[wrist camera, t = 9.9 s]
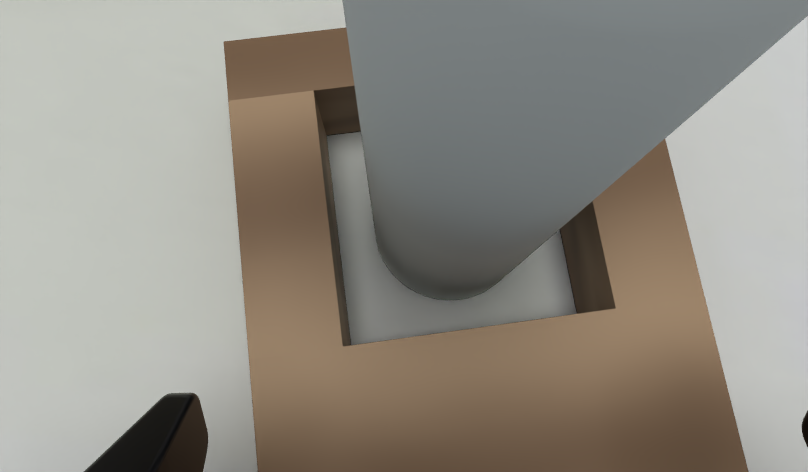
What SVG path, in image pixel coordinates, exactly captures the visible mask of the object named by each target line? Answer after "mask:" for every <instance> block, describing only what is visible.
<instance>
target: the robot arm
mask: <svg viewBox="0 0 808 472" xmlns="http://www.w3.org/2000/svg"><path fill="white" fill-rule="evenodd" d="M802 433H803V437H804V440H805V442H806V444H807V447H808V411H807V413H806V415H805V417H804V419H803V422H802ZM207 447H208V432H207V428H206V424H205V420H204V416H203V412H202V408H201V404H200V400H199V398H198V396H197V395H196V394H194V393H170V394H167V395H165V396H164V397H162V398H161V399H160V400H159V401H158V402H157V403H156V404H155V405H154V406H153V407H152V408H151V409H150V410H149V411H148V412H146V413H145V414H144V415H143V416H142V417H141V418H140V419H139V420H138V421H137V422H136V423H135V424H134V425H133V426H132V427H131V428H130V429H129V430H127V431H126V432H125V433H124V434H123V435H122V436H121V437H120V438H119V439H118V440H117V441H116V442H115V443H114V444H113V445H112V446H111V447H110V448H108V449H107V450H106V451H105V452H104V453H103V454H102V455H101V456H100V457H99V458H98V459H97V460H96V461H95V462H94V463H93V464H92V465H91V466H89V467H88V468H87V469H86V470H85V471H84V472H203V469H204V464H205V458H206V453H207Z"/></svg>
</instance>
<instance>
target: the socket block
mask: <svg viewBox="0 0 808 472" xmlns="http://www.w3.org/2000/svg"><path fill="white" fill-rule="evenodd" d="M224 52H225V64H226V77H227V89H228V102H229V114H230V127H231V140H232V152H233V165H234V177H235V190H236V202H237V215H238V227H239V240H240V252H241V265H242V278H243V290H244V303H245V315H246V328H247V340H248V353H249V365H250V378H251V391H252V403H253V416H254V428H255V441H256V453H257V466H258V472H748V468H747V464H746V460H745V456H744V452H743V449H742V445H741V441H740V437H739V433H738V429H737V425H736V421H735V417H734V413H733V409H732V405H731V401H730V397H729V393H728V389H727V385H726V381H725V377H724V373H723V369H722V365H721V361H720V357H719V353H718V349H717V345H716V341H715V337H714V333H713V329H712V325H711V321H710V317H709V313H708V309H707V305H706V301H705V297H704V293H703V289H702V285H701V281H700V277H699V273H698V269H697V265H696V261H695V257H694V253H693V249H692V245H691V241H690V237H689V233H688V229H687V225H686V221H685V217H684V213H683V209H682V205H681V201H680V197H679V193H678V189H677V185H676V181H675V177H674V173H673V169H672V165H671V161H670V157H669V153H668V149H667V145H666V141H665V139H664V140H663V141H661V142H660V143H659V144H658V145H657V146H656V147H654V148H653V149H652V150H651V151H650V152H649V153H647V154H646V155H645V156H644V157H643V158H642V159H641V160H639V161H638V162H637V163H636V164H635V165H634V166H632V167H631V168H630V169H629V170H628V171H627V172H625V173H624V174H623V175H622V176H621V177H620V178H618V179H617V180H616V181H615V182H614V183H613V184H612V185H610V186H609V187H608V188H607V189H606V190H605V191H603V192H602V193H601V194H600V195H599V196H598V197H596V198H595V199H594V200H593V201H592V202H591V203H589V204H588V205H587V206H586V207H585V208H584V209H582V210H581V211H580V212H579V213H578V214H577V215H576V216H574V217H573V218H572V219H571V220H570V221H569V222H567V223H566V224H565V225H564V226H563V227H562V228H560V231H561V236H562V241H563V246H564V251H565V256H566V261H567V266H568V271H569V276H570V281H571V286H572V291H573V296H574V301H575V306H576V311H577V314H572V315H565V316H558V317H551V318H544V319H537V320H530V321H522V322H515V323H508V324H501V325H494V326H487V327H479V328H472V329H465V330H458V331H451V332H444V333H436V334H429V335H422V336H415V337H408V338H401V339H393V340H386V341H379V342H372V343H365V344H358V345H351V341H350V333H349V324H348V315H347V307H346V298H345V290H344V281H343V273H342V264H341V256H340V247H339V239H338V230H337V222H336V213H335V205H334V196H333V187H332V179H331V170H330V162H329V153H328V145H327V136H326V135H333V134H341V133H349V132H357V131H361V128H360V121H359V114H358V107H357V100H356V93H355V86H354V78H353V71H352V64H351V57H350V50H349V43H348V36H347V28H338V29H330V30H321V31H312V32H304V33H295V34H286V35H278V36H269V37H260V38H251V39H243V40H234V41H225V42H224Z"/></svg>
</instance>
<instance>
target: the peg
mask: <svg viewBox="0 0 808 472" xmlns="http://www.w3.org/2000/svg"><path fill="white" fill-rule="evenodd" d="M343 7H344V14H345V21H346V28H347V36H348V43H349V50H350V57H351V64H352V71H353V78H354V86H355V93H356V100H357V107H358V114H359V121H360V128H361V136H362V143H363V150H364V157H365V164H366V171H367V178H368V185H369V193H370V200H371V207H372V214H373V221H374V228H375V235H376V242H377V246H378V249H379V252H380V254H381V257H382V259H383V261H384V262H385V264H386V266H387V267H388V269H389V270H390V271H391V273H392V274H393V275H394V276H395V277H396V278H397V279H398V280H399V281H400V282H401V283H403V284H404V285H405V286H407V287H408V288H410V289H411V290H413V291H415V292H417V293H419V294H422V295H424V296H427V297H431V298H434V299H441V300H459V299H465V298H469V297H473V296H476V295H478V294H480V293H483V292H485V291H486V290H488V289H490V288H491V287H493V286H494V285H495V284H496V283H498V282H499V281H500V280H501V279H502V278H504V277H505V276H506V275H507V274H508V273H509V272H511V271H512V270H513V269H514V268H515V267H516V266H517V265H519V264H520V263H521V262H522V261H523V260H524V259H526V258H527V257H528V256H529V255H530V254H531V253H533V252H534V251H535V250H536V249H537V248H538V247H540V246H541V245H542V244H543V243H544V242H545V241H547V240H548V239H549V238H550V237H551V236H552V235H553V234H555V233H556V232H557V231H558V230H559V229H560V228H562V227H563V226H564V225H565V224H566V223H567V222H569V221H570V220H571V219H572V218H573V217H574V216H576V215H577V214H578V213H579V212H580V211H581V210H582V209H584V208H585V207H586V206H587V205H588V204H589V203H591V202H592V201H593V200H594V199H595V198H596V197H598V196H599V195H600V194H601V193H602V192H603V191H605V190H606V189H607V188H608V187H609V186H610V185H612V184H613V183H614V182H615V181H616V180H617V179H618V178H620V177H621V176H622V175H623V174H624V173H625V172H627V171H628V170H629V169H630V168H631V167H632V166H634V165H635V164H636V163H637V162H638V161H639V160H641V159H642V158H643V157H644V156H645V155H646V154H647V153H649V152H650V151H651V150H652V149H653V148H654V147H656V146H657V145H658V144H659V143H660V142H661V141H663V140H664V139H665V138H666V137H667V136H668V135H670V134H671V133H672V132H673V131H674V130H675V129H676V128H678V127H679V126H680V125H681V124H682V123H683V122H685V121H686V120H687V119H688V118H689V117H690V116H692V115H693V114H694V113H695V112H696V111H697V110H699V109H700V108H701V107H702V106H703V105H704V104H706V103H707V102H708V101H709V100H710V99H711V98H712V97H714V96H715V95H716V94H717V93H718V92H719V91H721V90H722V89H723V88H724V87H725V86H726V85H728V84H729V83H730V82H731V81H732V80H733V79H735V78H736V77H737V76H738V75H739V74H740V73H741V72H743V71H744V70H745V69H746V68H747V67H748V66H750V65H751V64H752V63H753V62H754V61H755V60H757V59H758V58H759V57H760V56H761V55H762V54H764V53H765V52H766V51H767V50H768V49H769V48H771V47H772V46H773V45H774V44H775V43H776V42H777V41H779V40H780V39H781V38H782V37H783V36H784V35H786V34H787V33H788V32H789V31H790V30H791V29H793V28H794V27H795V26H796V25H797V24H798V23H800V22H801V21H802V20H803V19H804V18H805V17H806V16H808V0H343Z"/></svg>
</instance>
